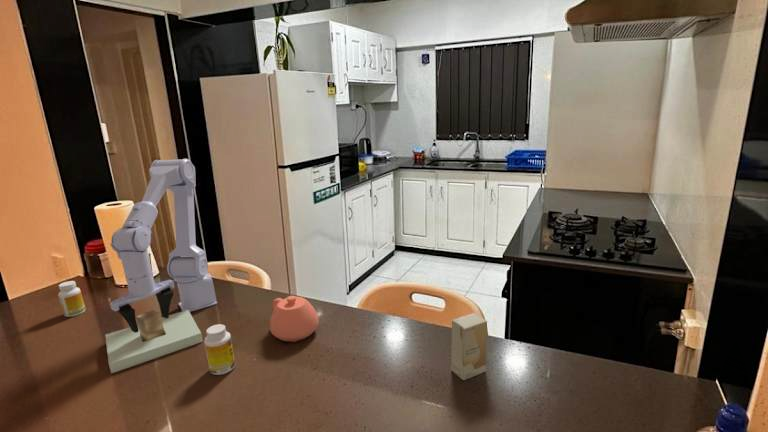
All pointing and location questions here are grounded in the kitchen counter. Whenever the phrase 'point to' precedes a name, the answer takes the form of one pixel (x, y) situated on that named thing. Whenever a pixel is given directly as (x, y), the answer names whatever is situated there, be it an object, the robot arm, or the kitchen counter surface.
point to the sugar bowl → (293, 319)
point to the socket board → (151, 342)
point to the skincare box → (469, 346)
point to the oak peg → (150, 325)
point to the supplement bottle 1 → (71, 299)
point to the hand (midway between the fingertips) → (150, 323)
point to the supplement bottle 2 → (219, 350)
